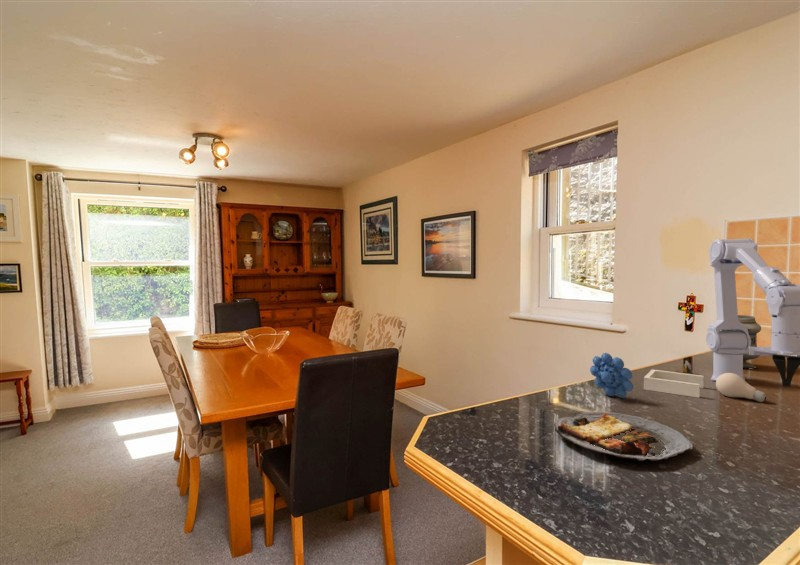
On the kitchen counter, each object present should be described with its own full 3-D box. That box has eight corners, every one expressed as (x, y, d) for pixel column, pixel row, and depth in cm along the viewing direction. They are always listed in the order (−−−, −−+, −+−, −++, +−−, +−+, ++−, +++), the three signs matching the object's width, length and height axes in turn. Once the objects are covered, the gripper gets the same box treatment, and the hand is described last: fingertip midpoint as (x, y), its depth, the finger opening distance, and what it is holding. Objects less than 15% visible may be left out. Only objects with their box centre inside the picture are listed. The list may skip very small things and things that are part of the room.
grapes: (583, 394, 116) (582, 352, 116) (594, 390, 121) (594, 349, 120) (626, 404, 107) (626, 359, 107) (637, 399, 112) (637, 355, 111)
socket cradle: (651, 380, 130) (651, 369, 130) (703, 387, 121) (703, 375, 121) (643, 389, 121) (643, 377, 121) (699, 397, 112) (699, 385, 112)
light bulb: (774, 383, 108) (724, 365, 116) (766, 393, 104) (715, 373, 112) (766, 404, 110) (717, 385, 118) (758, 414, 106) (708, 393, 115)
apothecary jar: (730, 370, 141) (730, 317, 140) (710, 362, 153) (710, 314, 152) (770, 370, 139) (770, 317, 138) (746, 362, 151) (746, 314, 150)
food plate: (634, 479, 69) (634, 458, 69) (531, 433, 90) (531, 417, 90) (713, 451, 81) (713, 433, 81) (605, 416, 102) (606, 402, 102)
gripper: (748, 332, 106) (748, 384, 107) (829, 337, 97) (829, 394, 97) (749, 329, 112) (749, 378, 112) (825, 333, 102) (825, 387, 102)
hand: (786, 385), depth 105 cm, fingers closed
